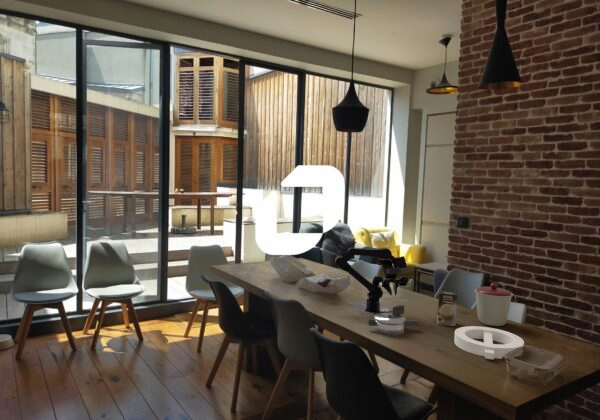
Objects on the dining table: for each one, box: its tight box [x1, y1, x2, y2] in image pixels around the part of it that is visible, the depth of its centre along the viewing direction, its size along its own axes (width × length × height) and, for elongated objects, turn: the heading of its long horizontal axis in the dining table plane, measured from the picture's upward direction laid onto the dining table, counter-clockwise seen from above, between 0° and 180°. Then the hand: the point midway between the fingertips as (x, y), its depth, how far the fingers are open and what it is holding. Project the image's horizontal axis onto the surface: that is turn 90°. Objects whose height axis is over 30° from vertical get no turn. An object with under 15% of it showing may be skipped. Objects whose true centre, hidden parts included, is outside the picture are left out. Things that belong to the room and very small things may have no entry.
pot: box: [367, 319, 419, 336], centre depth 211 cm, size 14×24×5 cm, turn 97°
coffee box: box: [436, 290, 458, 327], centre depth 224 cm, size 9×6×16 cm
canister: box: [474, 282, 514, 327], centre depth 227 cm, size 18×18×21 cm
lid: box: [373, 304, 407, 324], centre depth 212 cm, size 15×19×5 cm
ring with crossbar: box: [453, 325, 525, 360], centre depth 194 cm, size 28×28×5 cm
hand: (393, 294), depth 229 cm, fingers open, 2 cm apart
